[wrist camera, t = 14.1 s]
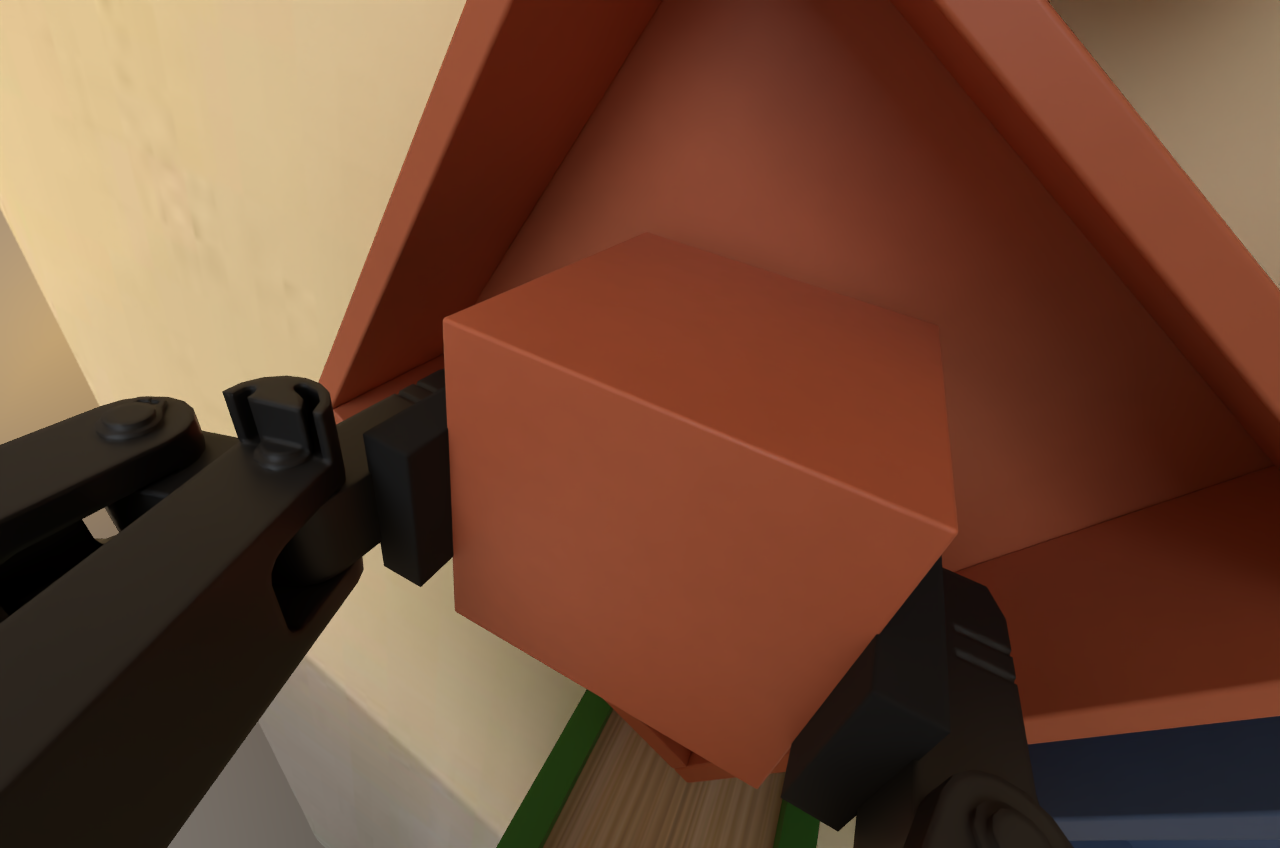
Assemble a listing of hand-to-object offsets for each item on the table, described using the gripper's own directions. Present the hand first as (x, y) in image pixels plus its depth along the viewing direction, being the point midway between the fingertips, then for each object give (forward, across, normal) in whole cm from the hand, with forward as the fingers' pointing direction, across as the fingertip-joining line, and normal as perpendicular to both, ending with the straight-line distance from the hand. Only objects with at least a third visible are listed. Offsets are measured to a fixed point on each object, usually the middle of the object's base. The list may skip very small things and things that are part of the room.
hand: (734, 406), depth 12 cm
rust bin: (+1, 0, 0) cm, 1 cm away
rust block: (0, 0, 0) cm, 0 cm away
